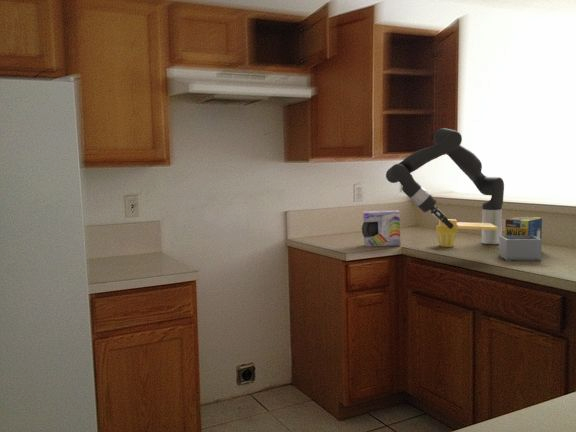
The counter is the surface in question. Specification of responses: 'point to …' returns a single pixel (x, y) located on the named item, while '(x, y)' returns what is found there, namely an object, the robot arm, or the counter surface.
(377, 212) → the cake pan box
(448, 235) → the plant pot
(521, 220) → the protein box
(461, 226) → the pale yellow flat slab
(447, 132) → the robot arm
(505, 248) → the tub
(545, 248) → the counter surface
